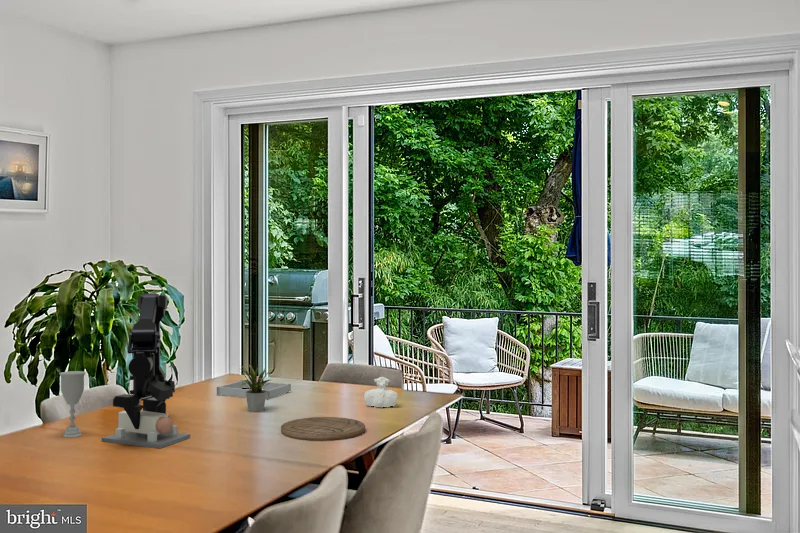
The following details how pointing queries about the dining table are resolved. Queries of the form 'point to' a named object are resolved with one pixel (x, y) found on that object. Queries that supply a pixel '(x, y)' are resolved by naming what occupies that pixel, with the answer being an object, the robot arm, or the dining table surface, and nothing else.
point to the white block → (147, 422)
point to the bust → (381, 395)
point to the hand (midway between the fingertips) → (143, 426)
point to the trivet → (322, 428)
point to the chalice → (72, 396)
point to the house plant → (255, 390)
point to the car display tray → (236, 390)
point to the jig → (146, 438)
